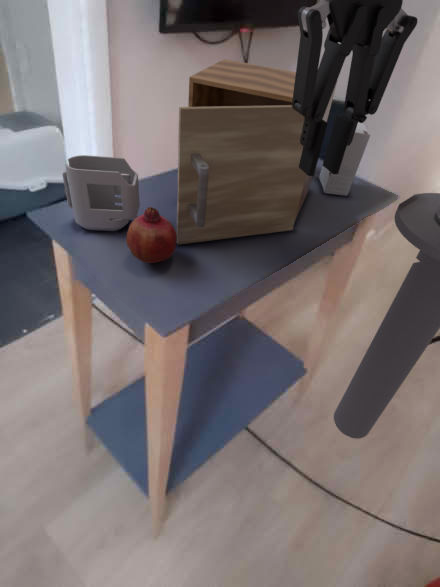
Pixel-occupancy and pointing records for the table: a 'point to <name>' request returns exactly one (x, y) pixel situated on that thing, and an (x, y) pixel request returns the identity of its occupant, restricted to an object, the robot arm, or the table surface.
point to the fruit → (151, 237)
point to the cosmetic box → (346, 164)
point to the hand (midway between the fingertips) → (318, 170)
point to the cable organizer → (101, 191)
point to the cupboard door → (238, 171)
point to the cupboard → (245, 91)
